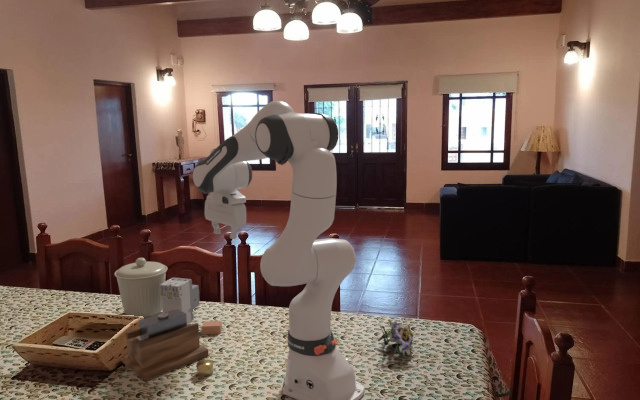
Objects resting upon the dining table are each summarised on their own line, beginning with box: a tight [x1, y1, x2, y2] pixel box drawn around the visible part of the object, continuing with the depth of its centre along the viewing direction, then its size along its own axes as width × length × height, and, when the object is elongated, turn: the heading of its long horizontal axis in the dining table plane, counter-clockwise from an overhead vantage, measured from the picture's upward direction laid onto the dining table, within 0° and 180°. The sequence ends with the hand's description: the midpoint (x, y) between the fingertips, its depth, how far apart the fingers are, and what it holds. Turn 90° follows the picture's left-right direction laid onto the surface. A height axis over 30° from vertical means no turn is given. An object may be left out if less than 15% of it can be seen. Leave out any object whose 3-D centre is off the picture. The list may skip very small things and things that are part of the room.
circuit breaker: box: [160, 277, 200, 324], centre depth 170 cm, size 8×14×15 cm, turn 164°
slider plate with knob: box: [136, 309, 191, 342], centre depth 141 cm, size 16×6×6 cm, turn 135°
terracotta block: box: [201, 320, 223, 335], centre depth 161 cm, size 6×4×3 cm, turn 95°
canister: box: [114, 257, 168, 319], centre depth 175 cm, size 18×18×21 cm
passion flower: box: [377, 319, 414, 357], centre depth 146 cm, size 11×11×12 cm
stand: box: [122, 322, 209, 382], centre depth 142 cm, size 16×20×10 cm
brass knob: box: [196, 359, 214, 378], centre depth 134 cm, size 4×4×3 cm
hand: (225, 236), depth 163 cm, fingers open, 8 cm apart
